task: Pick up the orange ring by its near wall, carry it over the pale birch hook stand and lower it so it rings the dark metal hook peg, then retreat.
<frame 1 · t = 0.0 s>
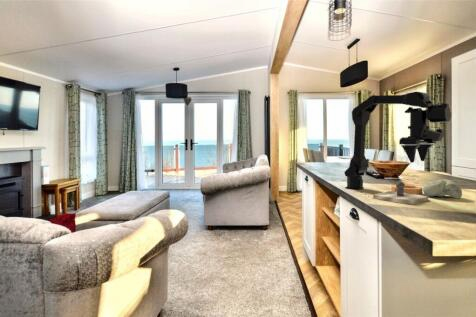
hand: (417, 161, 114), 15 cm above the table, fingers open, 9 cm apart
hook stand: (400, 199, 112), on the table
orange ring: (406, 193, 123), on the table
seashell: (441, 197, 115), on the table
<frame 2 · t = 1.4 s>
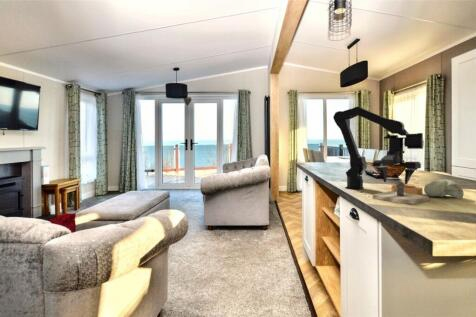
hand: (395, 183, 127), 4 cm above the table, fingers open, 9 cm apart
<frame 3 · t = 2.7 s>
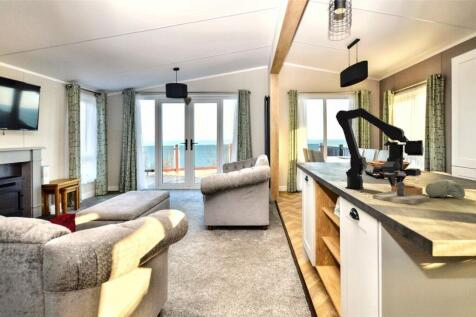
hand: (395, 189, 127), 1 cm above the table, fingers closed on orange ring
orange ring: (406, 193, 123), on the table, touching gripper
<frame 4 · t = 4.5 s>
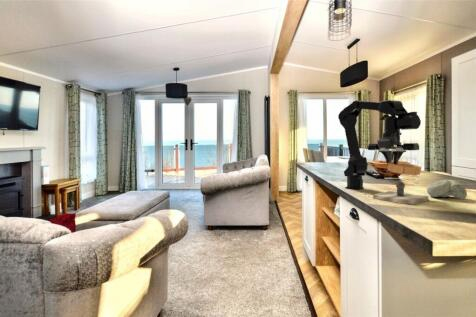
hand: (392, 167, 119), 12 cm above the table, fingers closed on orange ring
orange ring: (403, 171, 115), point 11 cm above the table, tilted 8°, touching gripper
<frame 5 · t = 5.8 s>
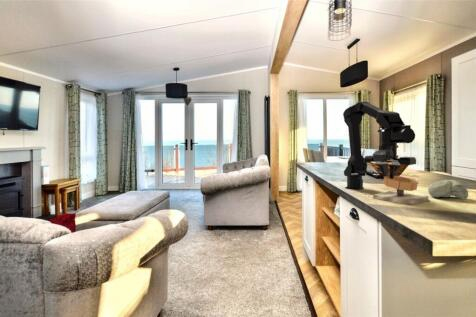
hand: (388, 180, 115), 7 cm above the table, fingers closed on orange ring
orange ring: (399, 186, 112), point 5 cm above the table, tilted 9°, touching gripper
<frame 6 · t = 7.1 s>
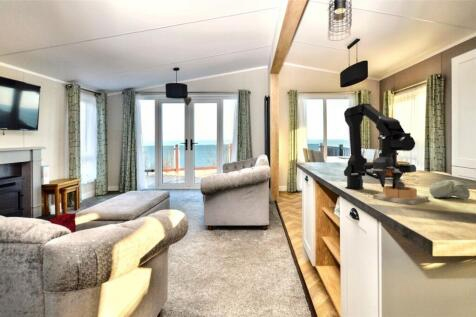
hand: (388, 187, 116), 4 cm above the table, fingers open, 4 cm apart
orange ring: (399, 195, 112), point 1 cm above the table, touching hook stand
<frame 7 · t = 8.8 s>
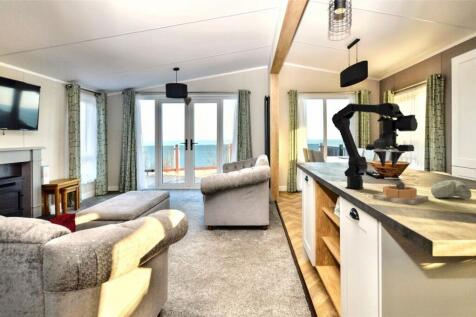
hand: (388, 167, 124), 12 cm above the table, fingers open, 4 cm apart
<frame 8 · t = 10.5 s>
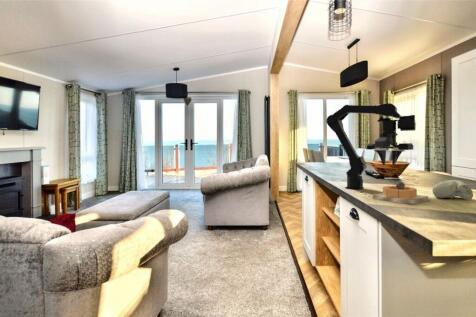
hand: (388, 165, 129), 12 cm above the table, fingers open, 4 cm apart
at the end: orange ring 0.4 cm off-centre on the hook stand, point 1.5 cm above the hook stand's base; the gripper is holding nothing; orange ring tilted 0° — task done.
